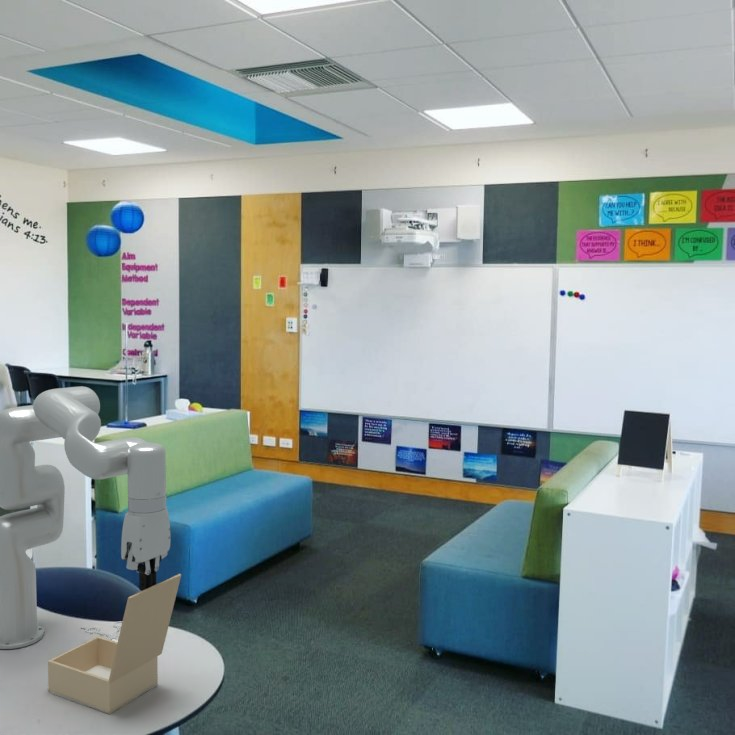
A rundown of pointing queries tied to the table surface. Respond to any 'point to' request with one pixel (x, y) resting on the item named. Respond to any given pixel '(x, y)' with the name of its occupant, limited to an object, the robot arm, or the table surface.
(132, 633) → the lid
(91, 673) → the box
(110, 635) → the scissors
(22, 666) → the table surface
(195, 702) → the table surface
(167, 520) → the robot arm
